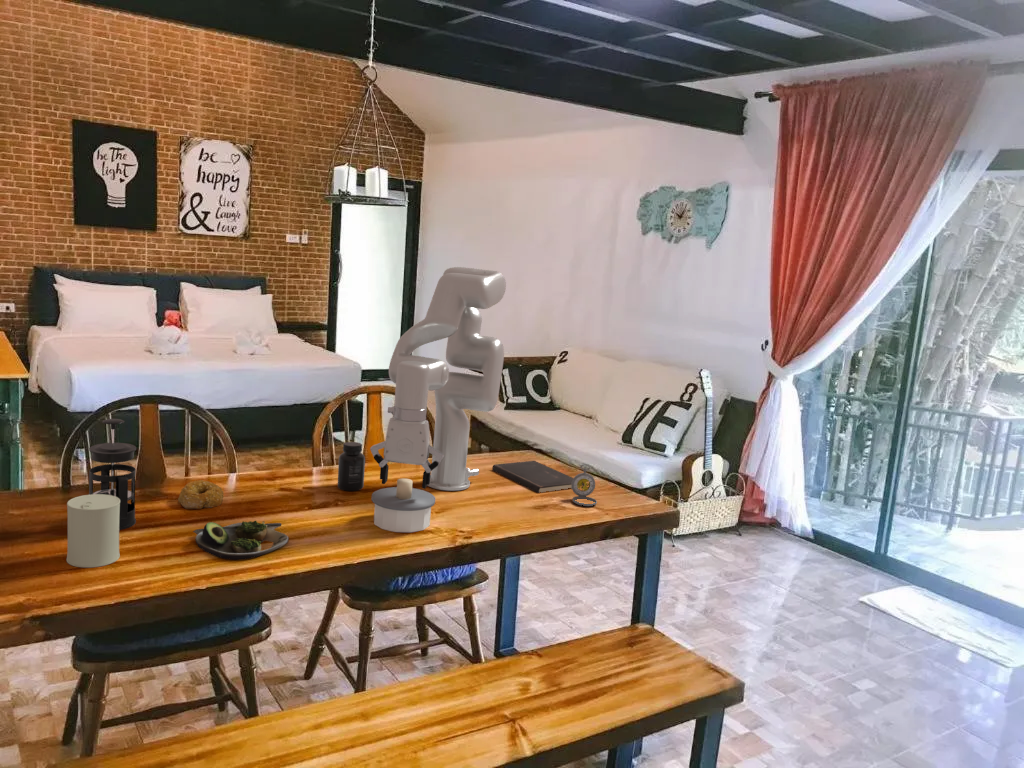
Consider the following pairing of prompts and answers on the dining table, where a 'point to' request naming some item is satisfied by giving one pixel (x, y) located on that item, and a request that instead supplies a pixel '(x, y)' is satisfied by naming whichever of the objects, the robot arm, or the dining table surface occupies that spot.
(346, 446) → the supplement bottle
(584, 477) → the pocket watch
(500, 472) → the hardcover book
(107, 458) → the french press
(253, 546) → the salad plate
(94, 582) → the dining table surface
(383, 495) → the lid
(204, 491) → the bagel
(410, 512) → the bowl
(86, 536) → the can
